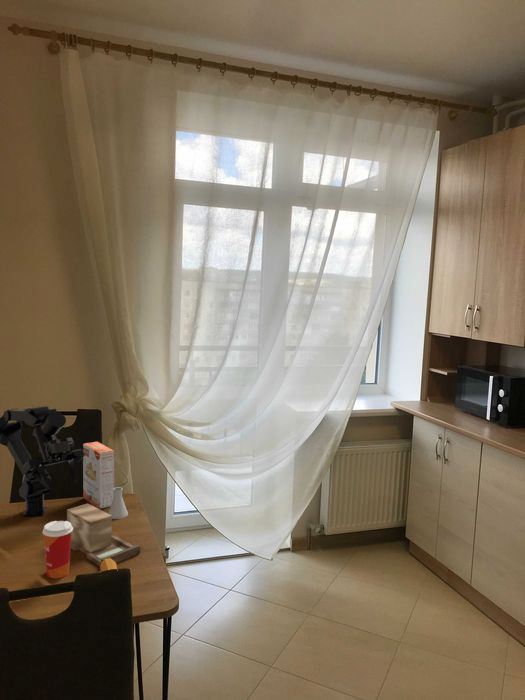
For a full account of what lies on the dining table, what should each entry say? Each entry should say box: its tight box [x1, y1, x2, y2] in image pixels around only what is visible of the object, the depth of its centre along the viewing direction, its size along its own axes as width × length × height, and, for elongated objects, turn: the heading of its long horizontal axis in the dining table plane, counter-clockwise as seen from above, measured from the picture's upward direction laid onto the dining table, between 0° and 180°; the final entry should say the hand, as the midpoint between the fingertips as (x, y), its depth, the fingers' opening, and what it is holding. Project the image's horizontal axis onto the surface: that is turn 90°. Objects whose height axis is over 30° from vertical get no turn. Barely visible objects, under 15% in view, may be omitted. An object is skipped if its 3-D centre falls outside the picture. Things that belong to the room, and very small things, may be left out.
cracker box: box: [82, 441, 115, 510], centre depth 199 cm, size 14×6×21 cm, turn 41°
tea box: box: [66, 503, 113, 552], centre depth 168 cm, size 13×7×9 cm, turn 49°
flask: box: [108, 486, 129, 520], centre depth 189 cm, size 7×7×10 cm
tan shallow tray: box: [71, 533, 141, 567], centre depth 166 cm, size 26×22×3 cm
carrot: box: [99, 558, 118, 571], centre depth 144 cm, size 20×4×4 cm, turn 26°
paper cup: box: [41, 520, 73, 579], centre depth 149 cm, size 8×8×14 cm
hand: (63, 485), depth 177 cm, fingers open, 9 cm apart
